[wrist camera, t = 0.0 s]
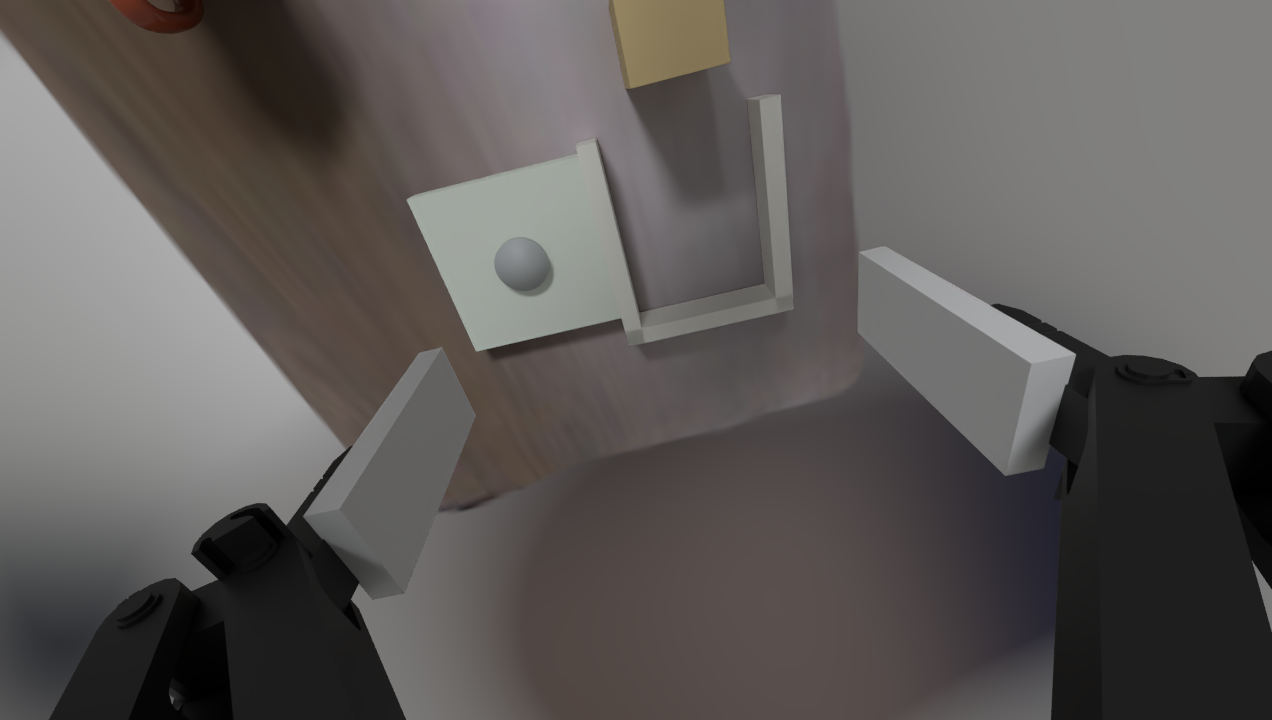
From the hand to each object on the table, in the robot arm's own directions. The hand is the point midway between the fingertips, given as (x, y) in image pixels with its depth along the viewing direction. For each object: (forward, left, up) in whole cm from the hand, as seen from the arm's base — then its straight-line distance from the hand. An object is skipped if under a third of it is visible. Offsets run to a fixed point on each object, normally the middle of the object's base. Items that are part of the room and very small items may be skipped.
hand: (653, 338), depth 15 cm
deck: (+5, -2, -28) cm, 28 cm away
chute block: (-9, +5, -28) cm, 30 cm away
